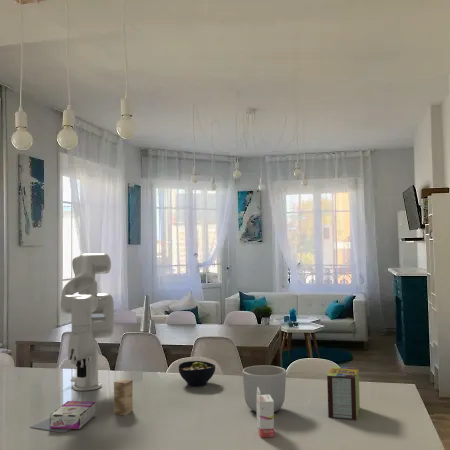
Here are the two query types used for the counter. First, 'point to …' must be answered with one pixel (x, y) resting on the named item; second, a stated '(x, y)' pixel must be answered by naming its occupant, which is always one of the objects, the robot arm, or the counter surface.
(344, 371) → the protein box
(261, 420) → the ink cartridge box
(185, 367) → the bowl
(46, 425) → the mat
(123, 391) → the oak block
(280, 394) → the planter
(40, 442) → the counter surface
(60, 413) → the candy bar box
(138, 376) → the counter surface
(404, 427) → the counter surface
